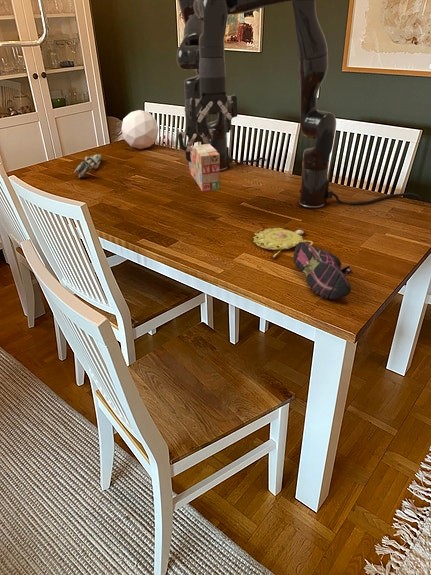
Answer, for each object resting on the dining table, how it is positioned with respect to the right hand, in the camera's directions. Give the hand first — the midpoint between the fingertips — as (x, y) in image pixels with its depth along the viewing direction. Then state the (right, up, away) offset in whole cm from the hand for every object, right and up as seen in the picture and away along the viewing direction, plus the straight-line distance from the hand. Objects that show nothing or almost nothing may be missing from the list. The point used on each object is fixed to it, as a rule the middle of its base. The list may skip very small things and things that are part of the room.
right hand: (214, 133), depth 134 cm
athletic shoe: (+30, -45, -14) cm, 56 cm away
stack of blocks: (-4, -9, +23) cm, 25 cm away
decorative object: (+21, -33, +6) cm, 40 cm away
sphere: (-39, +29, +106) cm, 117 cm away
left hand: (-6, -1, +26) cm, 26 cm away
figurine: (-59, +9, +75) cm, 96 cm away
